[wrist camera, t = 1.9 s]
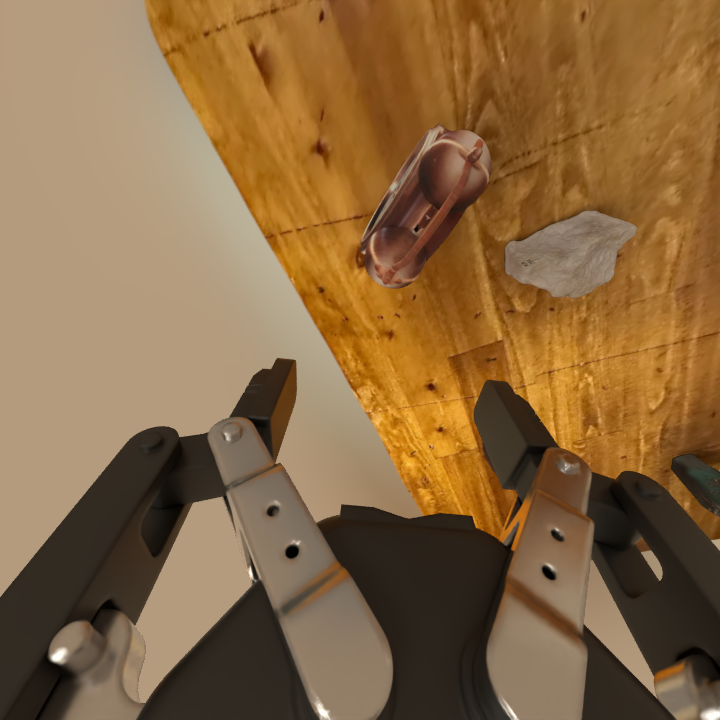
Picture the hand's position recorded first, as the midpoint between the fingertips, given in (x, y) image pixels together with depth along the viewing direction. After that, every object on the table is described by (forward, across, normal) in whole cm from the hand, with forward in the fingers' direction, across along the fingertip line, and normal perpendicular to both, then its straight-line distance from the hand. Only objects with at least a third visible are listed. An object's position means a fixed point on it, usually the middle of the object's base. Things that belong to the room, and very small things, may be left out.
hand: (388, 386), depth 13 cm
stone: (+23, -18, -2) cm, 30 cm away
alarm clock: (+23, -2, -5) cm, 24 cm away
